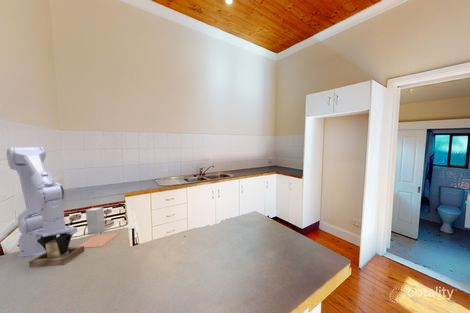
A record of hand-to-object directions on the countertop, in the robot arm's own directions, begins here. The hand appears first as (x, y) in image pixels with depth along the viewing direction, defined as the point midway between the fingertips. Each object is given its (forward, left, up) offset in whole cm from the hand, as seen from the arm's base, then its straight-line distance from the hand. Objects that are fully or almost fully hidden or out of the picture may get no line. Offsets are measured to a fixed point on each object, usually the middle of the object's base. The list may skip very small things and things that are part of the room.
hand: (58, 253), depth 68 cm
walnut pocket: (0, 0, -2) cm, 2 cm away
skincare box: (-3, +23, -3) cm, 23 cm away
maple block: (0, 0, -2) cm, 2 cm away
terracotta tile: (+6, +12, -2) cm, 14 cm away
